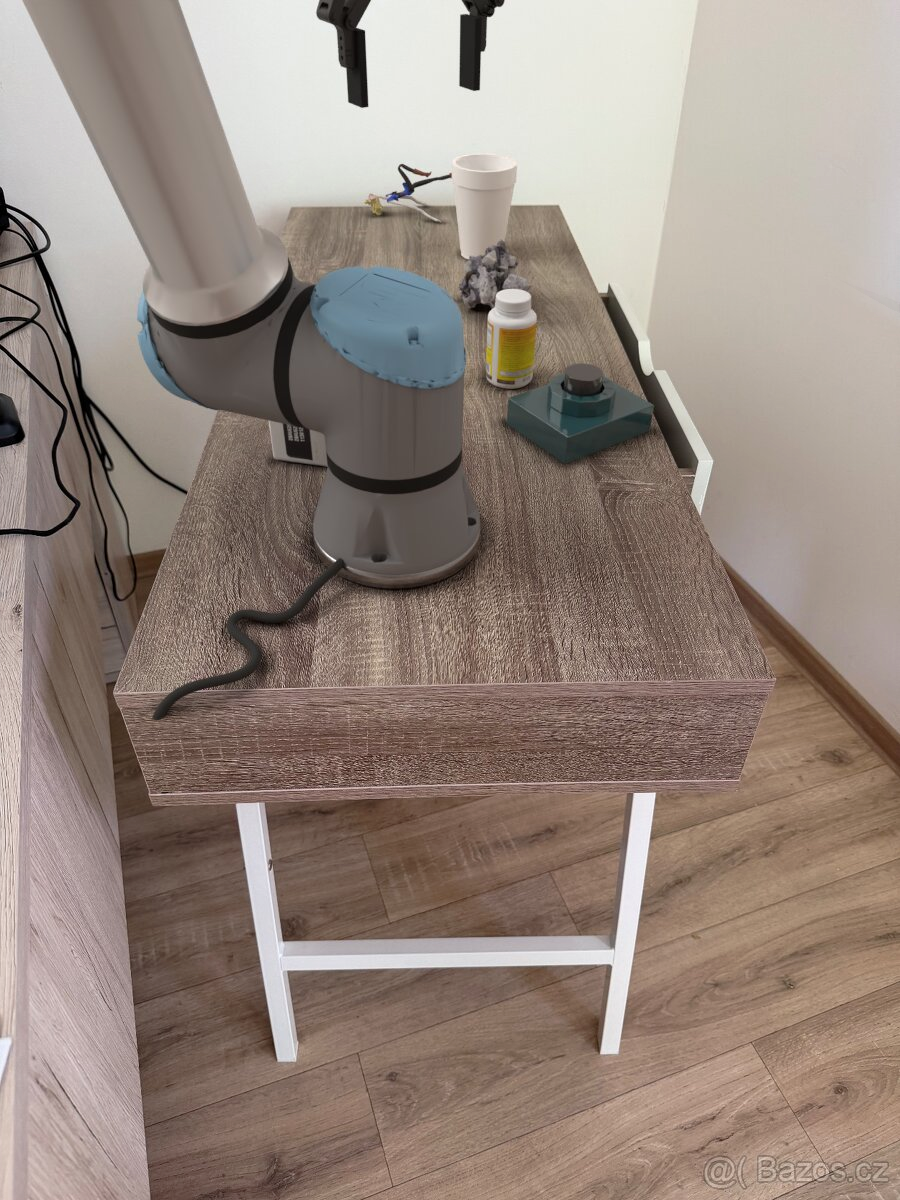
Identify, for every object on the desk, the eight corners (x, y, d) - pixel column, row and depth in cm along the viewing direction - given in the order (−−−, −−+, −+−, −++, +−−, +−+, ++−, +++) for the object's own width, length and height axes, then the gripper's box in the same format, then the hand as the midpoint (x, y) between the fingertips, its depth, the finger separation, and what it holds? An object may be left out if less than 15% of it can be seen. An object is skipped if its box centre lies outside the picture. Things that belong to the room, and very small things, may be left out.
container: (344, 470, 93) (334, 350, 85) (272, 460, 94) (256, 341, 86) (366, 432, 99) (359, 317, 90) (298, 424, 100) (285, 309, 92)
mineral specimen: (537, 303, 116) (512, 224, 114) (468, 329, 118) (442, 251, 116) (537, 311, 128) (514, 240, 126) (474, 335, 129) (451, 265, 128)
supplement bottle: (542, 380, 108) (549, 296, 102) (508, 395, 106) (513, 309, 99) (509, 364, 111) (513, 281, 105) (475, 378, 109) (478, 294, 102)
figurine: (368, 247, 160) (479, 213, 157) (361, 247, 152) (477, 211, 149) (350, 185, 157) (463, 149, 154) (342, 181, 148) (461, 144, 146)
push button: (580, 402, 95) (582, 384, 94) (555, 387, 98) (557, 369, 96) (608, 392, 97) (611, 374, 95) (584, 377, 99) (585, 359, 98)
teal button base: (565, 464, 94) (569, 421, 91) (506, 423, 101) (508, 382, 97) (649, 431, 100) (657, 389, 96) (589, 394, 106) (593, 354, 103)
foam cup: (440, 247, 141) (441, 157, 133) (494, 239, 144) (497, 150, 136) (467, 269, 135) (469, 175, 126) (523, 259, 138) (528, 167, 129)
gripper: (305, -175, 73) (326, 120, 86) (549, -173, 83) (533, 88, 97) (263, -176, 77) (289, 104, 91) (499, -175, 88) (491, 75, 102)
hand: (415, 96), depth 94 cm, fingers open, 13 cm apart
